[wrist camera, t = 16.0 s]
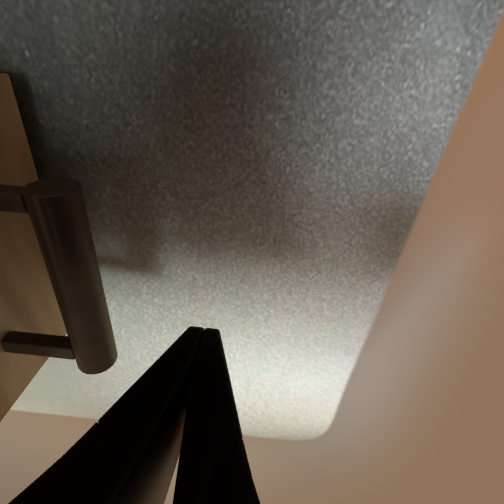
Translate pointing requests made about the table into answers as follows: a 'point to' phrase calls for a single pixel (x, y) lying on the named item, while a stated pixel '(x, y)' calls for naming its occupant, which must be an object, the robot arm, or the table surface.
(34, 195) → the drawer
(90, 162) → the table surface
